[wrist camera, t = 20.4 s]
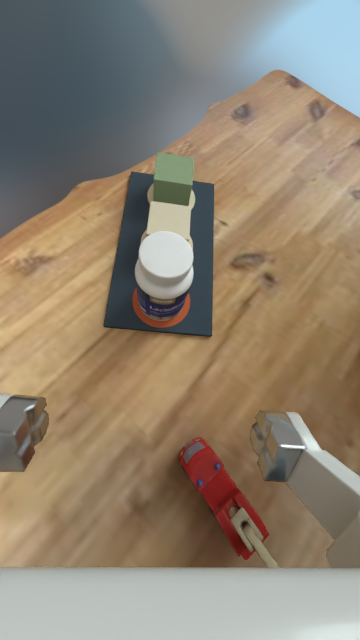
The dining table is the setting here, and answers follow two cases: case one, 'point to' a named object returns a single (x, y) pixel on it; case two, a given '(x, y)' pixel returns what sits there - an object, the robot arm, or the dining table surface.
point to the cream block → (169, 219)
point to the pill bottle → (163, 275)
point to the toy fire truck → (225, 501)
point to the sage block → (173, 179)
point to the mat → (133, 232)
